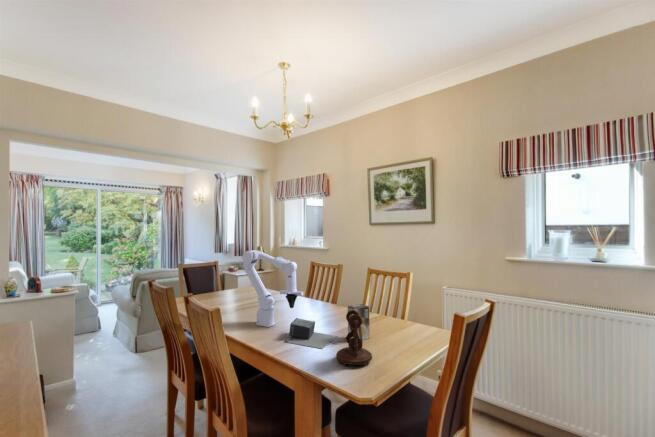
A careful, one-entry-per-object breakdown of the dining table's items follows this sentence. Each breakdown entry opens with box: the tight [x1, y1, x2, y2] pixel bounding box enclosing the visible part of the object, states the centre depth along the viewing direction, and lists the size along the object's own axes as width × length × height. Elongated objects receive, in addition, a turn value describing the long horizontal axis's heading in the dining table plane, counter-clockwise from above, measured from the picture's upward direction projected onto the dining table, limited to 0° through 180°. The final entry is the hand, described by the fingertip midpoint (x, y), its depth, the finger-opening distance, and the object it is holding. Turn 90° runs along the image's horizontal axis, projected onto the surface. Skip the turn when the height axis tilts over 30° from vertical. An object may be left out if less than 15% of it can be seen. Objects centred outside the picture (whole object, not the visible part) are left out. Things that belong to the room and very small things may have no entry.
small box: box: [288, 317, 316, 340], centre depth 159 cm, size 11×6×10 cm
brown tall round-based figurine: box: [335, 310, 373, 367], centre depth 130 cm, size 15×15×20 cm
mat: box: [284, 331, 338, 350], centre depth 155 cm, size 20×18×1 cm
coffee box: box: [347, 303, 371, 341], centre depth 156 cm, size 9×6×16 cm
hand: (291, 307), depth 175 cm, fingers closed
